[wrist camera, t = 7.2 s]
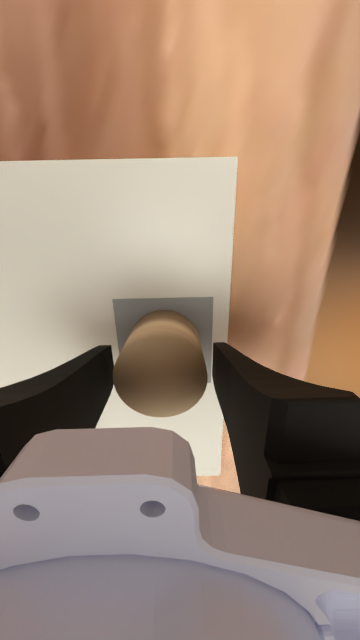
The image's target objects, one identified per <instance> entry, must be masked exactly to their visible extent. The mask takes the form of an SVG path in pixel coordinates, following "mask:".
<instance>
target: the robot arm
mask: <svg viewBox="0 0 360 640" xmlns="http://www.w3.org/2000/svg"><path fill="white" fill-rule="evenodd" d="M113 369H114V362H113V355H112V347H111V345H99V346H97V347H94V348H92V349H90V350H88V351H87V352H85V353H83V354H81V355H79V356H77V357H76V358H74V359H72V360H70V361H68V362H66V363H64V364H62V365H60V366H58V367H56V368H54V369H51V370H49V371H47V372H45V373H42V374H40V375H37V376H35V377H32V378H29V379H26V380H23V381H20V382H17V383H14V384H11V385H8V386H5V387H1V388H0V640H360V398H359V397H358V396H357V395H355V394H354V393H353V392H350V391H345V390H340V389H334V388H329V387H324V386H319V385H315V384H311V383H308V382H304V381H301V380H297V379H294V378H292V377H289V376H286V375H283V374H280V373H278V372H275V371H273V370H271V369H269V368H267V367H264V366H262V365H260V364H259V363H257V362H255V361H253V360H251V359H250V358H248V357H246V356H245V355H243V354H242V353H240V352H239V351H237V350H236V349H234V348H233V347H231V346H230V345H228V344H227V343H225V342H213V364H212V377H213V383H214V388H215V392H216V395H217V399H218V402H219V405H220V408H221V411H222V414H223V417H224V420H225V423H226V426H227V429H228V433H229V437H230V442H231V447H232V451H233V456H234V461H235V466H236V471H237V476H238V481H239V486H240V492H241V494H238V493H234V492H229V491H225V490H221V489H216V488H212V487H207V486H203V485H199V484H197V481H196V469H195V457H194V455H193V452H192V449H191V447H190V444H189V442H188V441H186V440H185V439H184V438H182V437H181V436H180V435H178V434H177V433H175V432H174V431H172V430H166V429H161V428H155V427H131V428H96V425H97V423H98V421H99V419H100V417H101V414H102V412H103V410H104V408H105V406H106V404H107V401H108V399H109V397H110V395H111V392H112V389H113V385H114V383H113Z"/></svg>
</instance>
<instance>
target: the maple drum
mask: <svg viewBox="0 0 360 640" xmlns="http://www.w3.org/2000/svg"><path fill="white" fill-rule="evenodd" d="M207 381H208V374H207V368H206V364H205V360H204V356H203V352H202V348H201V344H200V339H199V335H198V332H197V329H196V328H195V326H194V324H193V323H192V322H191V321H190V320H189V319H188V318H187V317H185V316H184V315H182V314H180V313H178V312H175V311H170V310H158V311H153V312H151V313H148V314H146V315H145V316H143V317H142V318H141V319H140V320H138V322H137V323H136V324H135V326H134V327H133V329H132V331H131V333H130V335H129V337H128V339H127V341H126V343H125V345H124V347H123V349H122V351H121V352H120V354H119V356H118V358H117V360H116V363H115V365H114V369H113V383H114V387H115V389H116V392H117V394H118V395H119V397H120V398H121V400H122V401H123V402H124V403H125V404H126V405H127V406H129V407H130V408H131V409H133V410H135V411H136V412H138V413H141V414H144V415H147V416H151V417H171V416H176V415H179V414H181V413H184V412H186V411H187V410H189V409H191V408H192V407H193V406H194V405H196V404H197V403H198V401H199V400H200V399H201V398H202V396H203V394H204V392H205V390H206V386H207Z"/></svg>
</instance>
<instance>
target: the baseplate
mask: <svg viewBox="0 0 360 640" xmlns="http://www.w3.org/2000/svg"><path fill="white" fill-rule="evenodd" d="M237 163H238V157H196V158H143V159H90V160H37V161H0V388H1V387H5V386H8V385H11V384H14V383H17V382H20V381H23V380H26V379H29V378H32V377H35V376H37V375H40V374H42V373H45V372H47V371H49V370H51V369H54V368H56V367H58V366H60V365H62V364H64V363H66V362H68V361H70V360H72V359H74V358H76V357H77V356H79V355H81V354H83V353H85V352H87V351H88V350H90V349H92V348H94V347H97V346H99V345H111V347H112V355H113V362H114V365H115V363H116V360H117V358H118V356H119V354H120V352H121V351H122V349H123V347H124V345H125V343H126V341H127V339H128V337H129V335H130V333H131V331H132V329H133V327H134V326H135V324H136V323H137V322H138V320H140V319H141V318H142V317H143V316H145V315H146V314H148V313H151V312H153V311H158V310H170V311H175V312H178V313H180V314H182V315H184V316H185V317H187V318H188V319H189V320H190V321H191V322H192V323H193V324H194V326H195V328H196V329H197V332H198V335H199V339H200V344H201V348H202V352H203V356H204V360H205V364H206V368H207V374H208V381H207V386H206V390H205V392H204V394H203V396H202V398H201V399H200V400H199V401H198V403H197V404H196V405H194V406H193V407H192V408H191V409H189V410H187V411H186V412H184V413H181V414H179V415H176V416H171V417H151V416H147V415H144V414H141V413H138V412H136V411H135V410H133V409H131V408H130V407H129V406H127V405H126V404H125V403H124V402H123V401H122V400H121V398H120V397H119V395H118V394H117V392H116V389H115V387H114V385H113V389H112V392H111V395H110V397H109V399H108V401H107V404H106V406H105V408H104V410H103V412H102V414H101V417H100V419H99V421H98V423H97V425H96V428H131V427H155V428H161V429H166V430H172V431H174V432H175V433H177V434H178V435H180V436H181V437H182V438H184V439H185V440H186V441H188V442H189V444H190V447H191V449H192V452H193V455H194V457H195V469H196V476H214V475H220V467H221V449H222V431H223V414H222V411H221V408H220V405H219V402H218V399H217V395H216V392H215V388H214V383H213V377H212V364H213V342H225V343H227V342H228V324H229V306H230V288H231V270H232V252H233V234H234V216H235V199H236V181H237Z"/></svg>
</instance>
